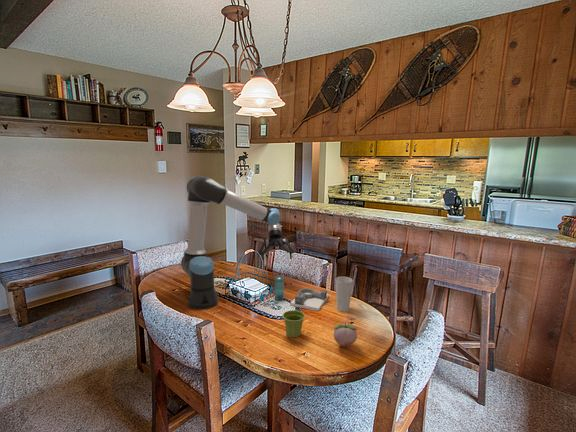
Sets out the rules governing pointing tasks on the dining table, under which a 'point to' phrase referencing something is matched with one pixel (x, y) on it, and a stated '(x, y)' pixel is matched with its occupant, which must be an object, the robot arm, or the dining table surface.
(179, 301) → the dining table surface
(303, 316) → the plant pot
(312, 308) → the shaft board
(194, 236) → the robot arm
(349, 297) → the cup
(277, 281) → the cylinder
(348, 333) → the decorative fruit
